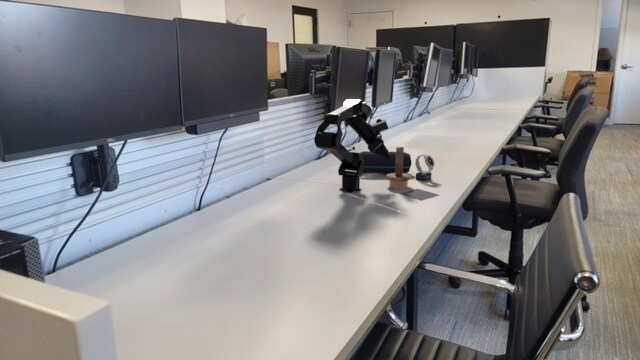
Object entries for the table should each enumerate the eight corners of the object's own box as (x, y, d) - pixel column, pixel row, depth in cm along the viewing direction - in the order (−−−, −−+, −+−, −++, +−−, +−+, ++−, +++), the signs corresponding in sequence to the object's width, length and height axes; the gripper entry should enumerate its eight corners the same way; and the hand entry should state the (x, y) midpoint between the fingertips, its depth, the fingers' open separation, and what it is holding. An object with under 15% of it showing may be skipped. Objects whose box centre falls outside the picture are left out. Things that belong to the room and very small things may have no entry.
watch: (428, 182, 189) (430, 157, 186) (412, 179, 194) (413, 154, 192) (435, 180, 193) (436, 155, 190) (418, 177, 198) (420, 152, 195)
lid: (399, 182, 175) (400, 150, 172) (381, 177, 183) (381, 147, 179) (416, 178, 181) (418, 147, 178) (397, 173, 189) (399, 144, 185)
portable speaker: (409, 170, 210) (410, 149, 207) (411, 176, 200) (412, 154, 198) (355, 170, 212) (355, 149, 209) (355, 175, 202) (355, 153, 199)
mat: (421, 201, 165) (421, 200, 165) (398, 194, 173) (398, 193, 173) (440, 195, 171) (440, 194, 171) (417, 189, 180) (417, 188, 180)
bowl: (398, 190, 178) (399, 181, 177) (386, 187, 183) (386, 177, 182) (410, 187, 182) (411, 178, 181) (397, 184, 188) (398, 174, 187)
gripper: (377, 116, 166) (406, 146, 168) (375, 110, 184) (401, 136, 186) (356, 137, 169) (384, 166, 171) (355, 129, 187) (381, 155, 189)
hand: (388, 155), depth 179 cm, fingers open, 9 cm apart
